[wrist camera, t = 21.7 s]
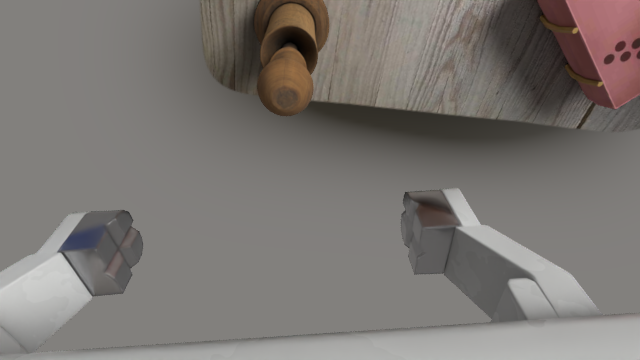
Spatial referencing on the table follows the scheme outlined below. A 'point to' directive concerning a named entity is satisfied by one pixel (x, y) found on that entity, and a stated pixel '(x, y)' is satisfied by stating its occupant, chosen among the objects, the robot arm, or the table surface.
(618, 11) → the book
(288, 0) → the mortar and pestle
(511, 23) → the table surface
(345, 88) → the table surface
